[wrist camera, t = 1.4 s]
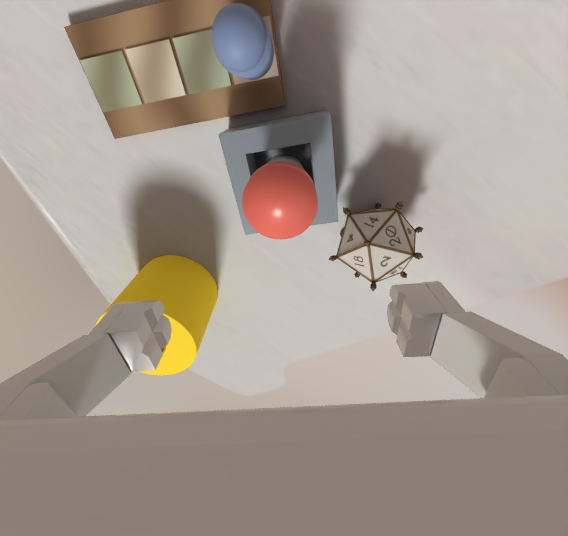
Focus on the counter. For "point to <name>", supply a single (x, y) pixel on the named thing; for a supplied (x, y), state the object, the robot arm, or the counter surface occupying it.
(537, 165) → the counter surface
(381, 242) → the game die
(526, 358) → the robot arm
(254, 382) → the counter surface
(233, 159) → the base
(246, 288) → the counter surface
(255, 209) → the plunger
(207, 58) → the track board
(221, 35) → the pawn
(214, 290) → the yellow hollow cylinder
